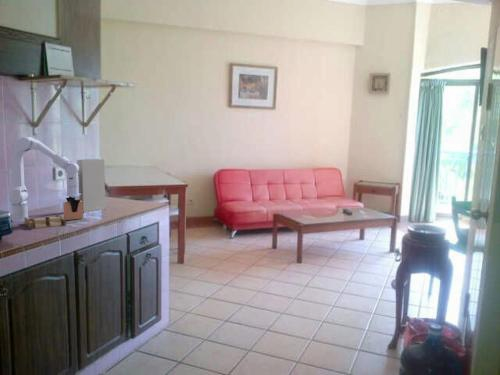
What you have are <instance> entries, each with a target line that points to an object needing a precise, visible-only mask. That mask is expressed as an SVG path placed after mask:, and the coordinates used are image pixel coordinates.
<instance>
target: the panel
mask: <svg viewBox="0 0 500 375" xmlns="http://www.w3.org/2000/svg"><path fill="white" fill-rule="evenodd" d="M62 203H63V204H62V205H63V206H62V207H63V218H64V219H66V220H72V219H80V218H83V217H84V213H83V201H80V202H79V204H78V209H77V212H72V208H71V204H70V202H67V201H64V202H63V201H62Z"/></svg>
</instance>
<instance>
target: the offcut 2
mask: <svg viewBox="0 0 500 375" xmlns="http://www.w3.org/2000/svg"><path fill="white" fill-rule="evenodd" d="M48 217H49V226H58V227H60V226H59V225H61V217H62V216H61V217H59V216H58V217H54V216H48Z"/></svg>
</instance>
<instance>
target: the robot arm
mask: <svg viewBox="0 0 500 375" xmlns="http://www.w3.org/2000/svg"><path fill="white" fill-rule="evenodd" d="M30 150H32V151H39V152H41V153H42V154H44V155H45V156H47V157H48V158H50V159H51V160H52V162H53V164H55V165H56V166H58V167H59V168H60V169H62V170H64V172H65V174H66V191H67V192H66V198H65V199H66V202H70V204H71V208H72V212H77V209H78V204H79V202H80V200H81V199H79V195H81V194H80V193H79V183H78V171H79V166H78V164H77V162H75V161H73V160H72V159H69V158H67V157H66V156H65V154H64V153H56V152H55V151H53V150H52V149H51V148H49V147H48V146H47V145H45V144H44V143H43V142H42V141H40V140H39V139H36V138H35V137H33V136H25V137H24V136H23V137H22V136H21V137H20V138H19V139H17V140H16V141H15V144H14V146H13V147H12V149H11V152H10V153H11V169H12V170H11V171H12V172H11V173H12V185H13V186H12V187H11V190H10V191H11V193H10V195H9V201H10V203H11V217H10V218H11V219H10V221H12V222H13V223H17V222H18V223H20V222H25V220H24V218H25V217H27V218H28V219H30V218H29V211H28V209H29V206H28V200H29V192H28V188H27V187H26V185H25V168H24V166H25V165H24V155H25V154H26V153H27V152H28V151H30Z"/></svg>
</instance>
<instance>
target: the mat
mask: <svg viewBox="0 0 500 375" xmlns="http://www.w3.org/2000/svg"><path fill="white" fill-rule="evenodd" d="M83 222H84V223H85V222H90V220H89V219H88V218H86V217H84V216H83V218H80V219H72V220H66V225H67V224H75V223H76V224H77V223H83Z"/></svg>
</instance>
